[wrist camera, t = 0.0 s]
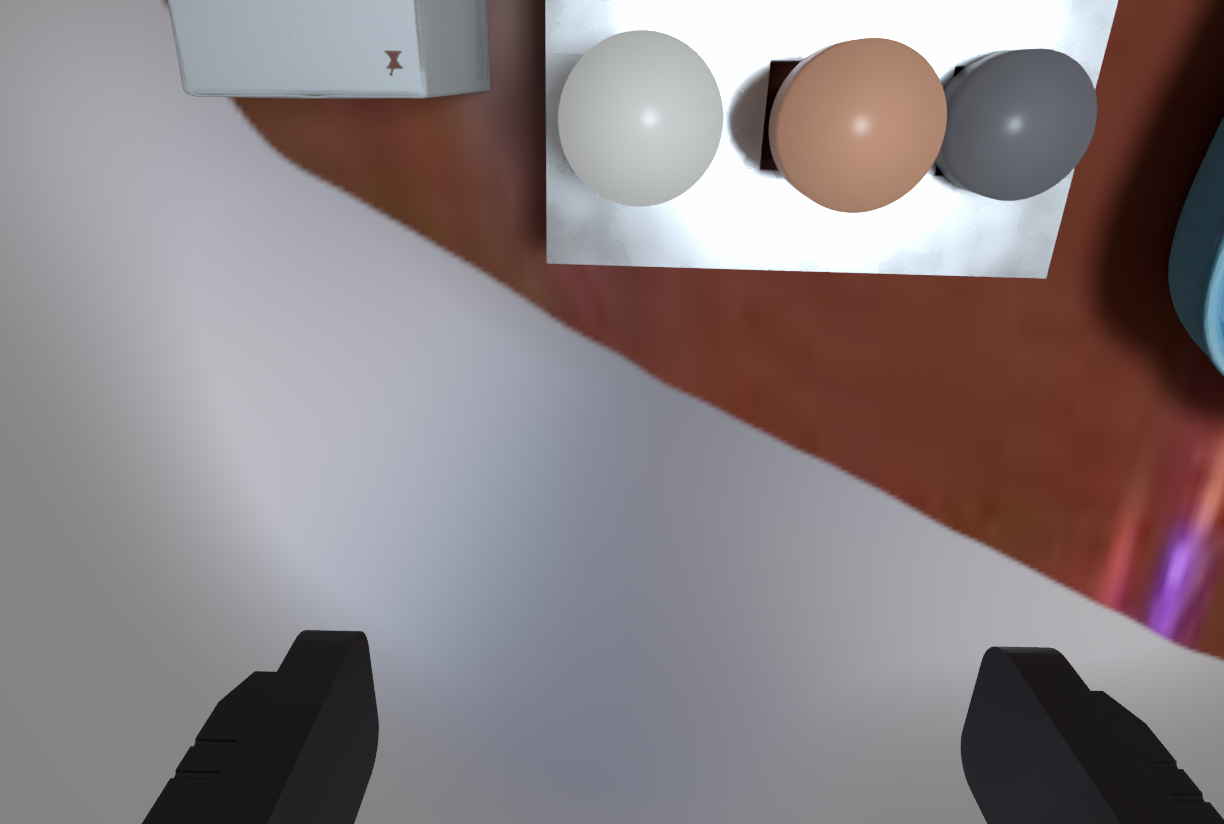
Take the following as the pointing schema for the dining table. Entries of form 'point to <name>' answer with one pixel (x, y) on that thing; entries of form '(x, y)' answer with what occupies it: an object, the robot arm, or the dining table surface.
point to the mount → (753, 186)
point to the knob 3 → (1016, 123)
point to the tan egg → (858, 124)
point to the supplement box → (331, 48)
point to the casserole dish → (1202, 256)
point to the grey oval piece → (640, 118)
